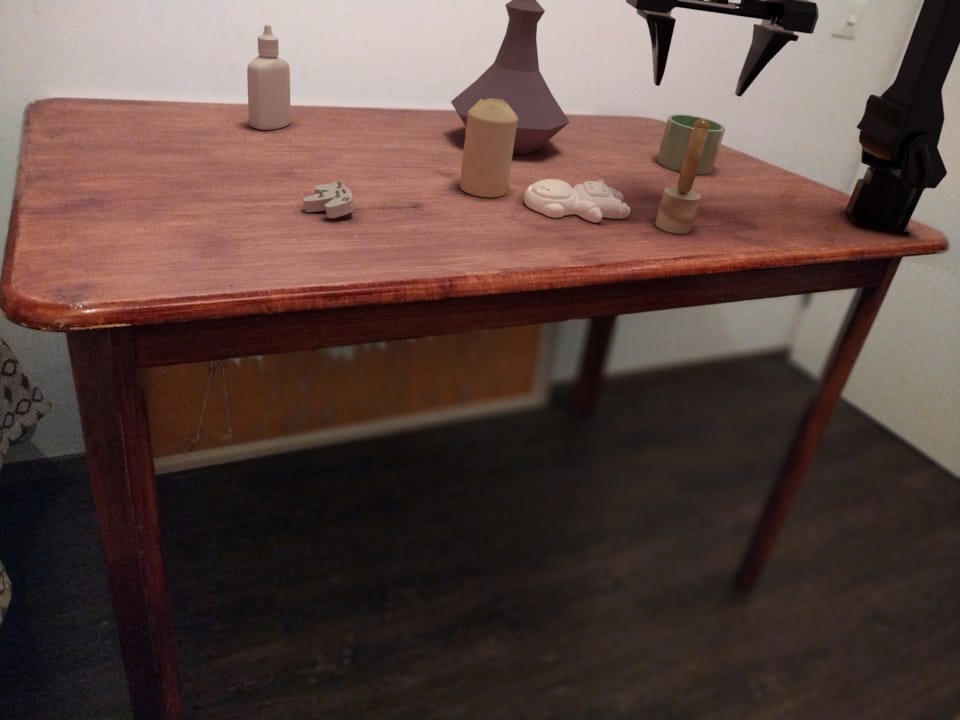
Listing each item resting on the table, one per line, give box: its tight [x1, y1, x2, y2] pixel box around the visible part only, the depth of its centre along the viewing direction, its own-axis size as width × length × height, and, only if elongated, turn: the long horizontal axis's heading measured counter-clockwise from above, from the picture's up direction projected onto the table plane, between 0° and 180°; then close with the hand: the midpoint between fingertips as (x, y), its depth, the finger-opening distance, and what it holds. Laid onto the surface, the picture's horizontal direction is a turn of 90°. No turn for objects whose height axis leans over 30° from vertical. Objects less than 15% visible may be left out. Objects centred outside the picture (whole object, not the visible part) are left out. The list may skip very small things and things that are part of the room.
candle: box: [459, 98, 518, 198], centre depth 82 cm, size 6×6×10 cm
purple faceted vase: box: [450, 0, 570, 155], centre depth 97 cm, size 16×16×20 cm
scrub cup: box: [656, 113, 726, 176], centre depth 103 cm, size 8×8×6 cm
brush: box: [654, 119, 710, 235], centre depth 80 cm, size 4×4×12 cm
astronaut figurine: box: [523, 178, 631, 224], centre depth 83 cm, size 9×12×3 cm
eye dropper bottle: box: [246, 24, 291, 131], centre depth 92 cm, size 4×6×12 cm
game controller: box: [302, 180, 418, 219], centre depth 75 cm, size 6×12×3 cm, turn 132°
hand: (697, 90), depth 80 cm, fingers open, 9 cm apart
